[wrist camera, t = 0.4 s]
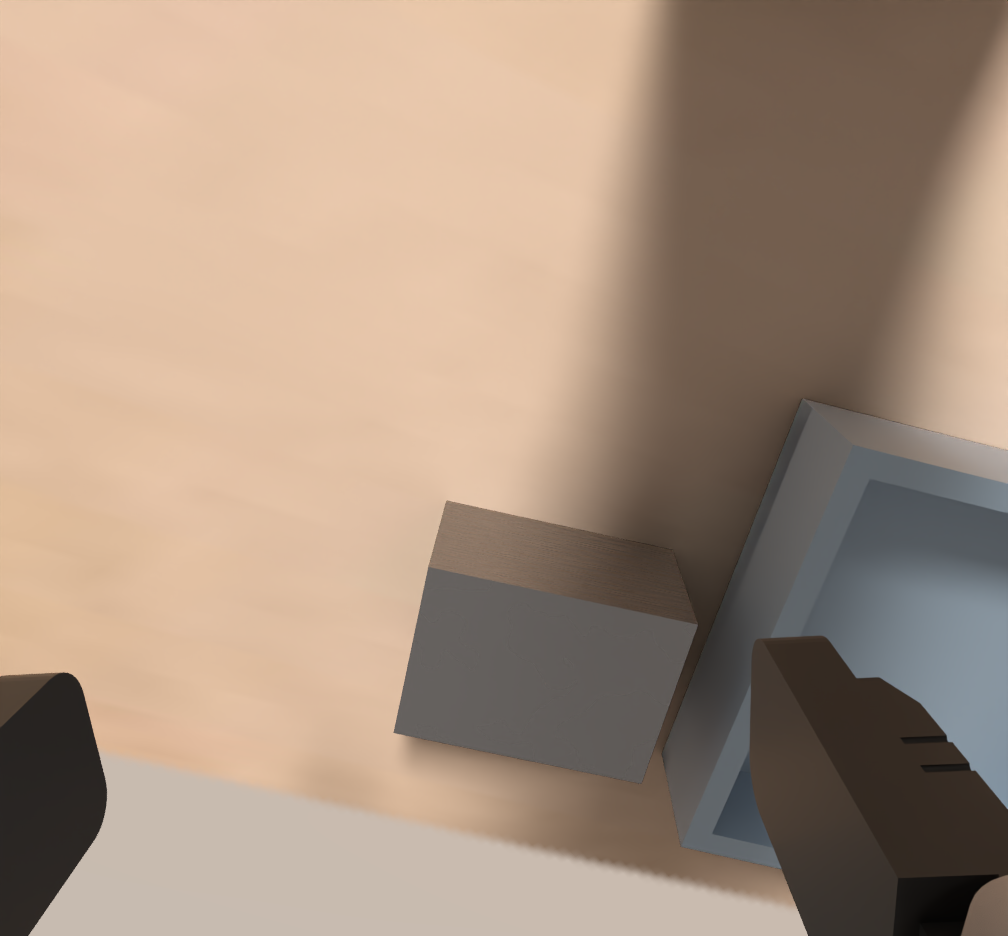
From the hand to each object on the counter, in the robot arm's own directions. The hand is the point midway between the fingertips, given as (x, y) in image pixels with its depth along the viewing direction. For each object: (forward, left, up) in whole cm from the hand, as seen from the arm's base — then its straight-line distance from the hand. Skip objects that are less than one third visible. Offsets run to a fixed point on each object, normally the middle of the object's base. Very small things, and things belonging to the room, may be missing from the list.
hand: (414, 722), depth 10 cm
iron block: (+5, +7, -18) cm, 20 cm away
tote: (-4, +18, -18) cm, 25 cm away
